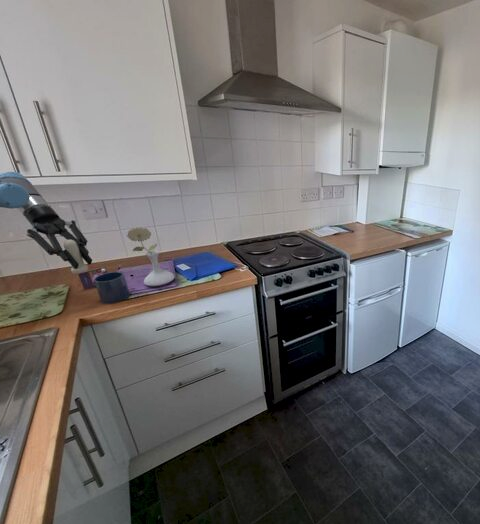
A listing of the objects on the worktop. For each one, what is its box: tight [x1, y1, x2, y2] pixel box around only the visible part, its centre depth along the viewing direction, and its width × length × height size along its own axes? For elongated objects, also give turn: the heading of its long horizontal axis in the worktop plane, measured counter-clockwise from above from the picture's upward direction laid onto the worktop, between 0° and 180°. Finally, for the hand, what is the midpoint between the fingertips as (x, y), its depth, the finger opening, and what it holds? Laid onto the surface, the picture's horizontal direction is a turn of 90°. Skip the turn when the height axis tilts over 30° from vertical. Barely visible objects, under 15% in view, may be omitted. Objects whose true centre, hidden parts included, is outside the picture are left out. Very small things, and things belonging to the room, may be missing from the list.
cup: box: [93, 271, 131, 304], centre depth 115 cm, size 9×9×9 cm
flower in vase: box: [126, 226, 175, 287], centre depth 124 cm, size 13×11×25 cm
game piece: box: [63, 239, 90, 274], centre depth 104 cm, size 5×5×12 cm
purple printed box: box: [77, 267, 108, 290], centre depth 126 cm, size 7×5×9 cm
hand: (83, 264), depth 103 cm, fingers closed on game piece, 3 cm apart
